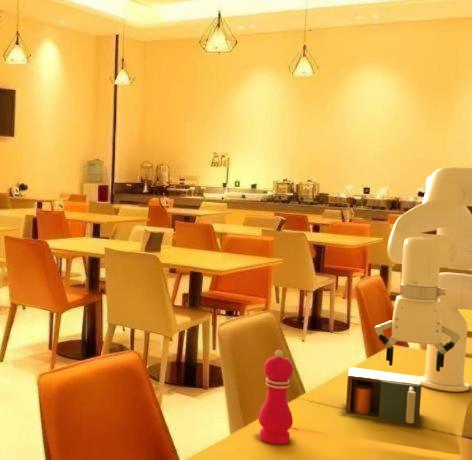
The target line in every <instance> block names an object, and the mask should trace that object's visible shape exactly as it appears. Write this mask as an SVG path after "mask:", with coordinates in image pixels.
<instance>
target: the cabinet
mask: <svg viewBox="0 0 472 460" xmlns="http://www.w3.org/2000/svg"><path fill="white" fill-rule="evenodd" d="M421 376H422V375H412V374H406V373H398V372H388V371H382V370H375V369H367V368H358V367H349V370H348V374H347V383H346V384H347V385H346V400H345V402H346V403H345V413H348V414H352V415H359V416H360V415H361V416H366V417H373V418H379V405H380V390H381V380H382V381H390V382H398V383H405V384H413V385H420V389H419V403H418V417H417V424H420V413H421V411H420V410H421V398H422V386H423V385H422V384H421ZM355 385H367V386H370V387H372V399H371V412H370V413H368V414H363V413H358V412H355V411H353V401H354V386H355Z"/></svg>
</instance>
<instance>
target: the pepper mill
mask: <svg viewBox="0 0 472 460" xmlns="http://www.w3.org/2000/svg"><path fill="white" fill-rule="evenodd" d="M283 356H284V352H283V350H281V349H277V350H276V351H275V352H274V356H270V357H269V358H268V359H267V360H266V361H265V363H264V366H263V371H264V374H265V375H266V376H267V377H266V378H265V385H266V386H267V393H266V398H265V401H264V403H263V405H262V406H261V408H260V410H259V412H258V420H257V421H258V423H259V425H260V426H261V428H260V430H259V438H260V440H261V441H263V442H264V443H268V444H272V445H285V444H288V443H289V442H290V439H291V438H290V436H291V433H290V432H289V430H290V429H291V428H292V427H293V424H294V422H293V415H292V411H291V408H290V406H289V403H288V400H287V393H288V389H289V388H290V379H289V378H290V377H291V376H292V375H293V373H294V370H293V369H294V368H293V363H292V362H291V360H289V359H288V358H286V357H283Z"/></svg>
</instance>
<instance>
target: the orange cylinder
mask: <svg viewBox="0 0 472 460" xmlns="http://www.w3.org/2000/svg"><path fill="white" fill-rule="evenodd" d="M371 399H372V387H370V386H367V385H355V386H354V401H353V411H355V412H358V413H363V414H368V413H370V412H371Z"/></svg>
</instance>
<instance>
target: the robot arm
mask: <svg viewBox="0 0 472 460" xmlns="http://www.w3.org/2000/svg"><path fill="white" fill-rule="evenodd" d="M468 207H472V167H461V166H460V167H458V166H457V167H456V166H455V167H454V166H450V167H449V166H447V167H441V168H438V169H436V170H435V171H434V172H433V173H432V174H431V175H429V176H428V177H427V178H426V180H425V193H424V196H423V198H422V202H421V204H420V203H419V204H418V205H416V206H414V207H413V208H411V209H409V210H407V211H405V212H404V213H403V214H401V215H400V216H399V217H398V218H397V219H396V221H394V222H395V223H394V224H393V226H392V229H391V232H390V235H389V237H388V242H387V247H386V249H387V251H386V252H387V256H388V259H390V260H391V261H392V262H393V263H395V264H399V265H401V279H400V293H399V294H400V295H396V297H395V301H394V306H393V312H392V320H388V321H386V322H383V323H380V324H377V325H375V326H374V331H375V333H376V335H377V337H378V340H379V341H380V342H381V343H382V344H383V345H384V346H385V348H386V354H385V355H386V356H385V361H386V362H388V366H393V361H394V348H395V347H394V345H396V343H398V342H401V343H402V342H403V343H411V344H421V345H426V355H425V356H426V358H425V359H426V360H425V373H424V375H420V376H421V385H422V386H424V387H426V388H430V389H433V390H438V391H444V392H453V393H454V392H456V393H457V392H458V393H459V392H460V393H461V392H467V391H469V390H470V384H469V382H467V381H465V380H464V378H465V365H466V352H467V351H466V350H467V337H468V323H467V321H466V319H465V317H464V316H463V315H462V313H461V311H459V310H466V311H467V310H468V311H472V274H467V273H458V272H457V273H456V272H440V269H442V268H443V269H444V268H445V269H451V270H461V271H471V272H472V212H471V211H470V210H469V208H468ZM435 230H436V234H433V233H424V232H429V231H435ZM390 328H391V336H390V337H389V338H388V337H387V336H386V335H385V334H384V332H383V331H384V330H387V329H390Z"/></svg>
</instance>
